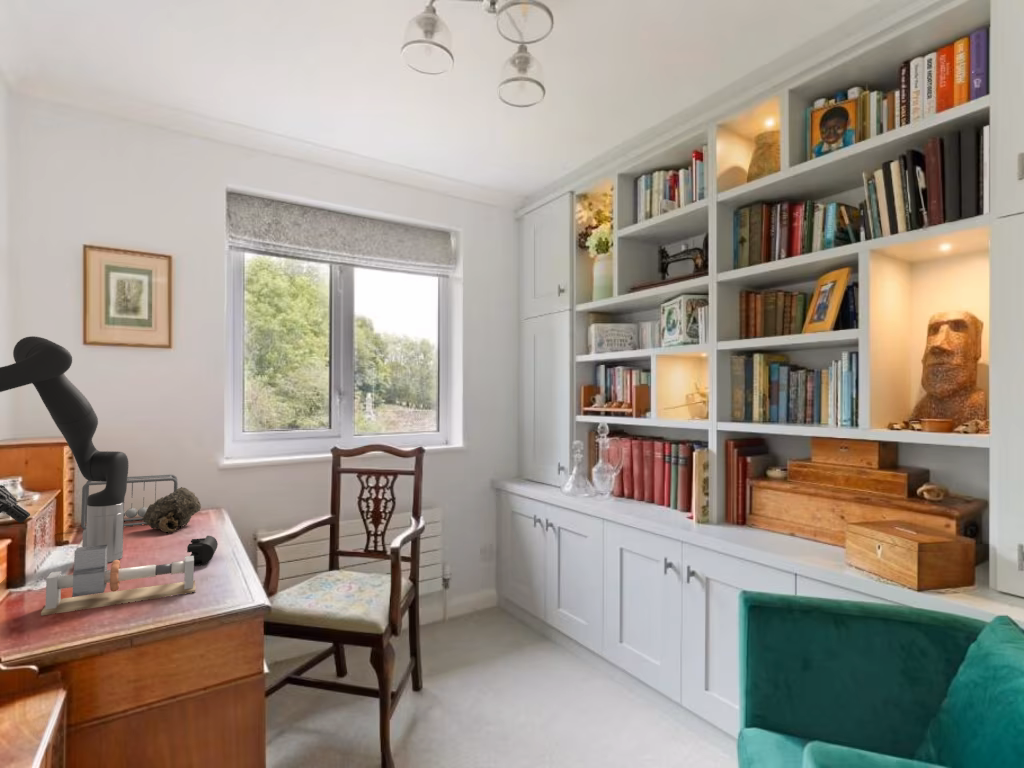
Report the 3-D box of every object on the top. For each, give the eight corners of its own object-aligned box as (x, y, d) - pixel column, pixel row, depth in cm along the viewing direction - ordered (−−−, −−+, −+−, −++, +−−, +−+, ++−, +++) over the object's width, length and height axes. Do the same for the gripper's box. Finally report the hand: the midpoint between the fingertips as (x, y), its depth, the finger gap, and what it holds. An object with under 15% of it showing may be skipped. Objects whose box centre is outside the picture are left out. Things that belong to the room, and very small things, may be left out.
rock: (178, 480, 215) (182, 478, 203) (206, 505, 219) (211, 505, 207) (135, 516, 205) (136, 516, 193) (166, 541, 209) (168, 544, 197)
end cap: (213, 565, 165) (214, 542, 165) (186, 567, 163) (187, 544, 163) (217, 555, 174) (218, 534, 175) (191, 557, 172) (192, 536, 172)
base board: (41, 615, 127) (41, 612, 127) (48, 603, 133) (48, 600, 133) (195, 592, 143) (195, 589, 143) (194, 583, 149) (194, 580, 149)
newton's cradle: (80, 531, 200) (82, 482, 200) (84, 525, 209) (85, 478, 209) (176, 522, 216) (177, 477, 216) (176, 517, 225) (177, 473, 225)
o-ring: (109, 595, 133) (110, 565, 134) (112, 585, 140) (113, 557, 140) (117, 594, 134) (118, 564, 134) (120, 584, 140) (121, 556, 141)
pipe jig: (45, 612, 128) (46, 578, 128) (49, 605, 132) (50, 572, 133) (193, 591, 144) (193, 560, 144) (192, 585, 148) (193, 555, 148)
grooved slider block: (72, 597, 130) (73, 552, 130) (76, 589, 135) (77, 546, 136) (103, 592, 133) (104, 549, 134) (106, 585, 139) (107, 543, 139)
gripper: (-38, 460, 118) (34, 512, 124) (-18, 454, 130) (47, 501, 136) (-74, 487, 115) (2, 538, 121) (-50, 478, 127) (18, 525, 133)
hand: (25, 518), depth 129 cm, fingers closed
